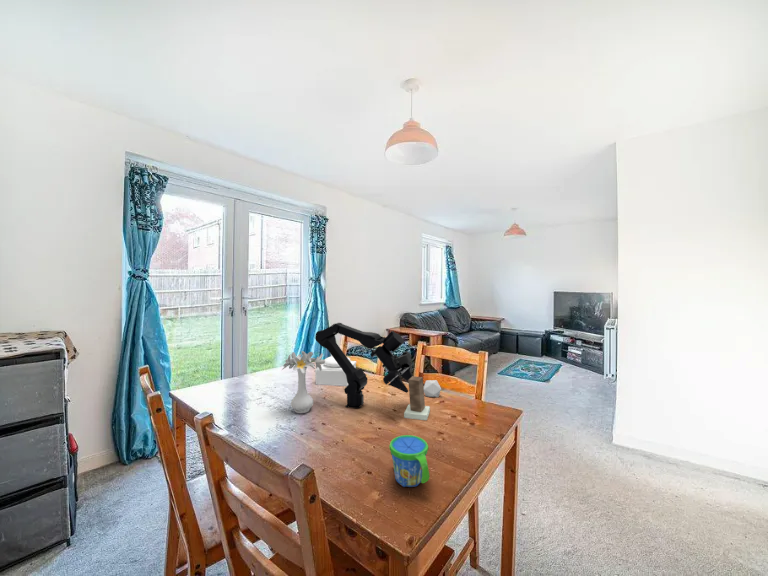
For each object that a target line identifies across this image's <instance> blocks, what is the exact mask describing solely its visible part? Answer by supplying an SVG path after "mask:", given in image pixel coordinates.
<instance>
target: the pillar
mask: <svg viewBox="0 0 768 576" xmlns="http://www.w3.org/2000/svg"><path fill="white" fill-rule="evenodd" d="M407 382H408V393H409V404H410V409H411V411H418V412H422V410H423V409H424V408H425V406H426V403H425V402H426V401H425V393H424V378H423V376H415V375H413V376H412V377H411V378H410V379H409V380H408V381H407Z"/></svg>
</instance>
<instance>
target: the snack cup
mask: <svg viewBox="0 0 768 576" xmlns="http://www.w3.org/2000/svg"><path fill="white" fill-rule="evenodd" d="M388 446H389V451H390V455H391V458H392V465H393V471H394V472H393V473H394V477H395V481H396V482H397V483H398V484H399V485H401V486H402V487H403V488H405V487H408V488H413V487H417V486H419V485H420V484H425V483H428V481H429V480H430V470H429V464H428V460H427V454H428V450H429V445H428V443H427V440H425V439H424V438H422V437H420V436H416V435H412V434H406V435H405V434H403V435H399V436H397V437H394V438H392V439H391V441H390V443H389V445H388Z"/></svg>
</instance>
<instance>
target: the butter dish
mask: <svg viewBox="0 0 768 576" xmlns="http://www.w3.org/2000/svg"><path fill="white" fill-rule="evenodd" d="M346 357H347V358H348V359H349V361H350V362H351V363H352V365H353V366H354V367H355V368H356V369H357V361H356V360H351V358H350V357H349V356H346ZM324 360H325V363H324V364H320V365H321V367H322V370H321V371H320V370H319V368H316V367H315V369H314V370H315V372H314V373H315V375H314V376H315V386H317V385H318V386H333V387H347V386H348V385H349V384H348V382H347V378H346V374H345V373H344V371H343V370H342V369H341V367H340V366H339V364H338V363H337V362H336V360H335V359H334V358H333V356H332V355H331V356H329V357H326V358H325V359H324Z"/></svg>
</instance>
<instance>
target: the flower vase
mask: <svg viewBox="0 0 768 576" xmlns="http://www.w3.org/2000/svg"><path fill="white" fill-rule="evenodd" d="M313 356H314V352H313V351H309V352H308V353H306V352H305V351H303V350H302V351H301V354H298V355H296V352H293V351H292V352H291V354H288V358H286V359H285V362H284V363H283V368H282V369H281V371H283V370H284V369H286V368H287V367H288V369H292V370H293V371H296V372H297V376H298V379H297V381H298V382H297V383H298V384H297V392H296V394H295V395H294V397H293V398H292V400H291V401H290V406H291V408H292V409H293V410H294V412H295V413H297V414H306V413H308V412H309V411H310V409H311V408H312V407H313V405H314V399H313V397H312V395H310V394H309V393H308V392H309V391H308V389H307V383H306V382H307V381H306V374H307V369H308V367H311V368H312V369H314V370H316V368H319V370H320V371H321V370H322V367H321V364H324V363H325V359H323V356H324V354H323V353H320V355H319V356H316V358H315V357H313ZM314 363H315V364H314Z"/></svg>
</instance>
